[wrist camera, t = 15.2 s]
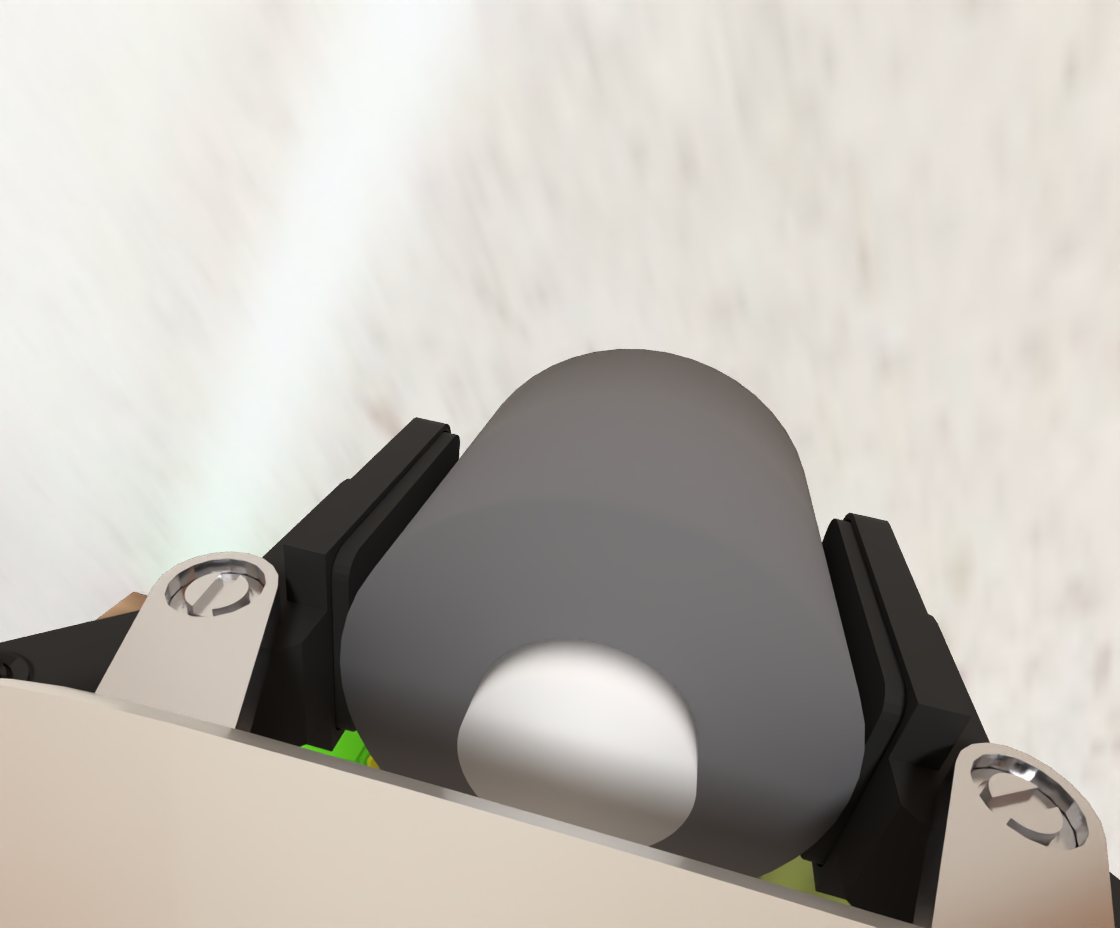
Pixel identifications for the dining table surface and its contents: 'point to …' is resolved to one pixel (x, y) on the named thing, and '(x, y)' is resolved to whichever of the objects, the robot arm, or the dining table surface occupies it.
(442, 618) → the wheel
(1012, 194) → the dining table surface
